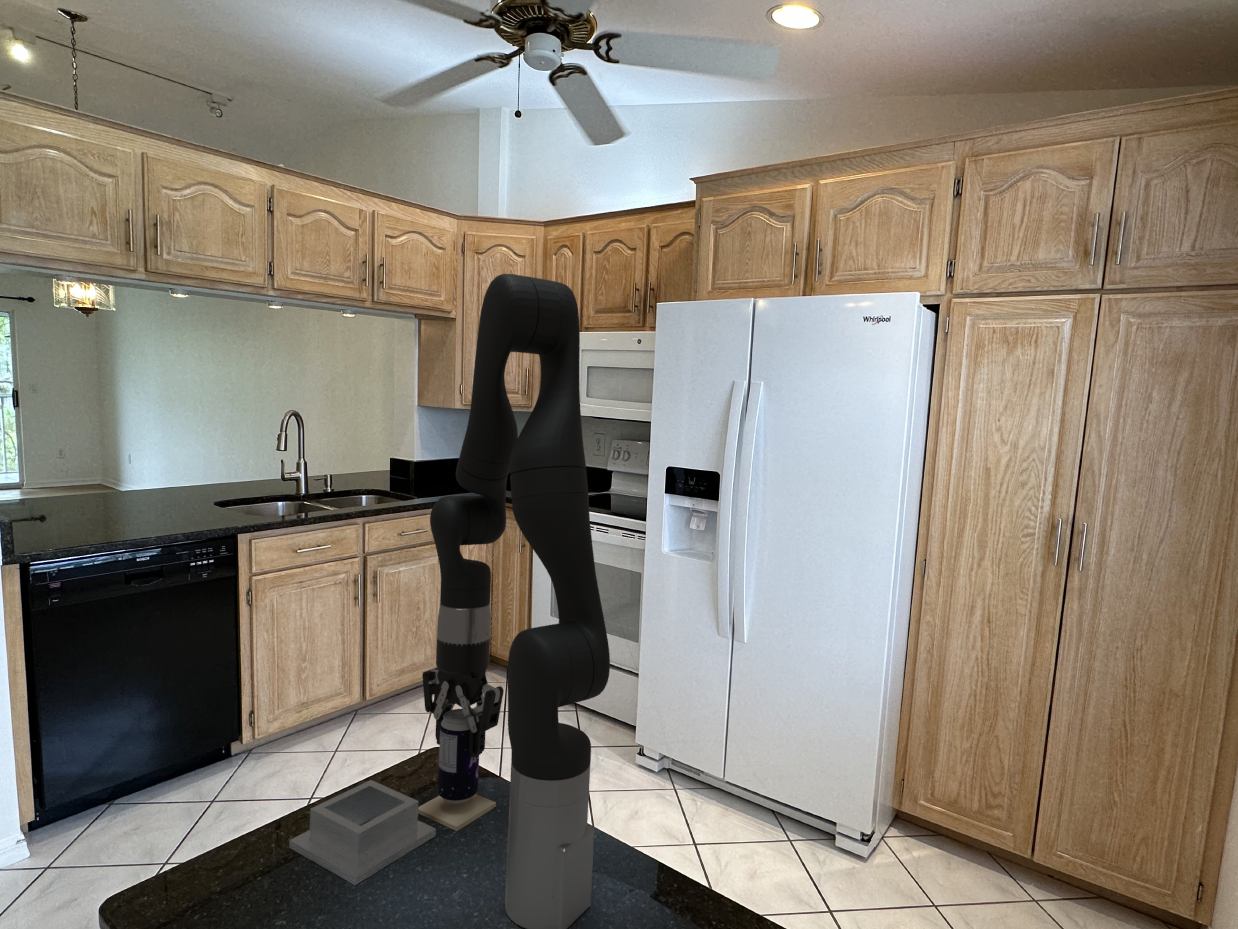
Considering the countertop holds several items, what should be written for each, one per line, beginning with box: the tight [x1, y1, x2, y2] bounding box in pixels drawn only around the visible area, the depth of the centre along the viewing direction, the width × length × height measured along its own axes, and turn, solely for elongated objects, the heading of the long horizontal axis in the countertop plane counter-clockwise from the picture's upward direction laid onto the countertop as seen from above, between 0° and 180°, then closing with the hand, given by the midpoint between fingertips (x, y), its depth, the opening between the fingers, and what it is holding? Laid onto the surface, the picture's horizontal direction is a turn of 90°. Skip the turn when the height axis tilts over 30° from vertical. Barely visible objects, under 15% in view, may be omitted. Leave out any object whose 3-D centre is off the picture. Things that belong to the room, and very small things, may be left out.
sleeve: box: [288, 779, 437, 886], centre depth 94 cm, size 13×13×5 cm
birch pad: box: [418, 793, 497, 832], centre depth 103 cm, size 8×8×1 cm
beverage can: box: [437, 708, 480, 804], centre depth 103 cm, size 6×6×12 cm
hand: (459, 748), depth 103 cm, fingers closed on beverage can, 5 cm apart
